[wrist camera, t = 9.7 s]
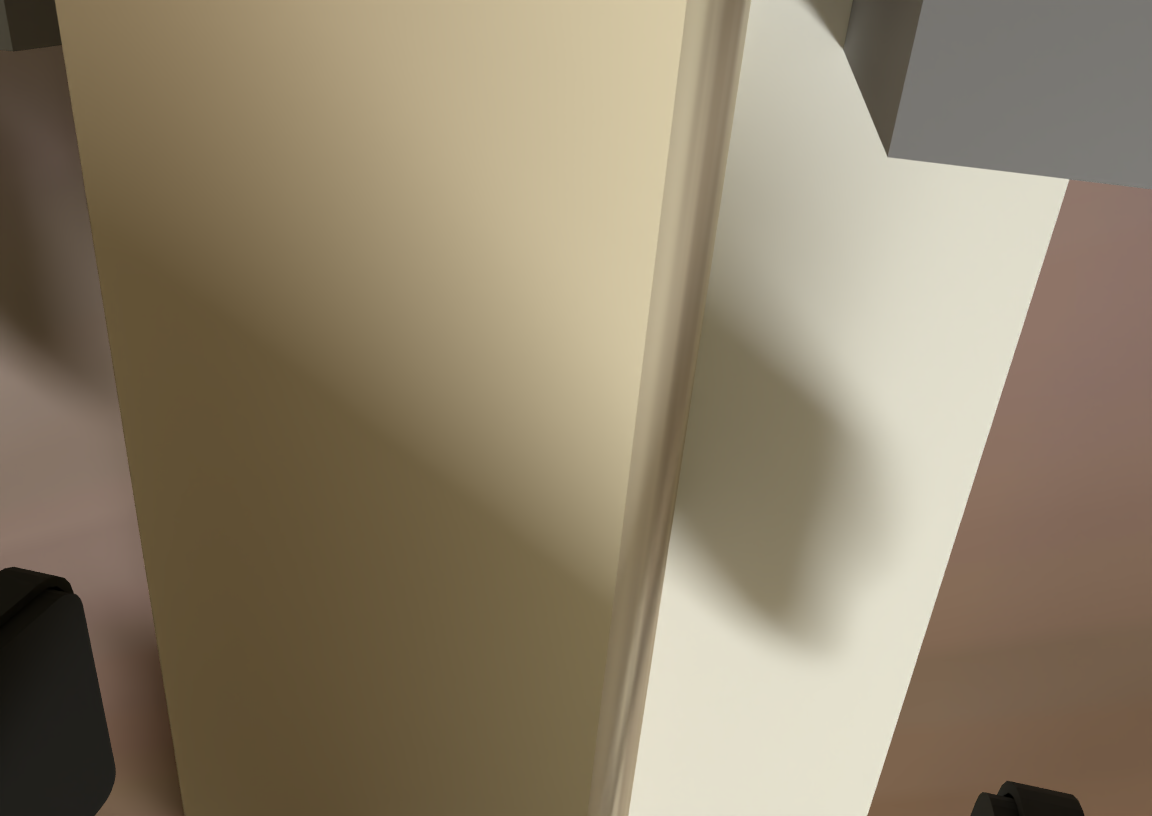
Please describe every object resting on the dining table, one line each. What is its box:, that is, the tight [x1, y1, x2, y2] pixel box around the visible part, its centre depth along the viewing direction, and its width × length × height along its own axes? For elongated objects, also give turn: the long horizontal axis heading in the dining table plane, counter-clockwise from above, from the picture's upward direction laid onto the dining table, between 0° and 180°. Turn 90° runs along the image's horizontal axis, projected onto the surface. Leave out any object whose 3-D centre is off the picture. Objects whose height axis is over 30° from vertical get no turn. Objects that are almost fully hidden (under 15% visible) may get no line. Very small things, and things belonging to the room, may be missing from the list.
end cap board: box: [0, 0, 1152, 816], centre depth 11 cm, size 9×26×6 cm, turn 175°
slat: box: [55, 0, 751, 816], centre depth 10 cm, size 2×18×6 cm, turn 175°
